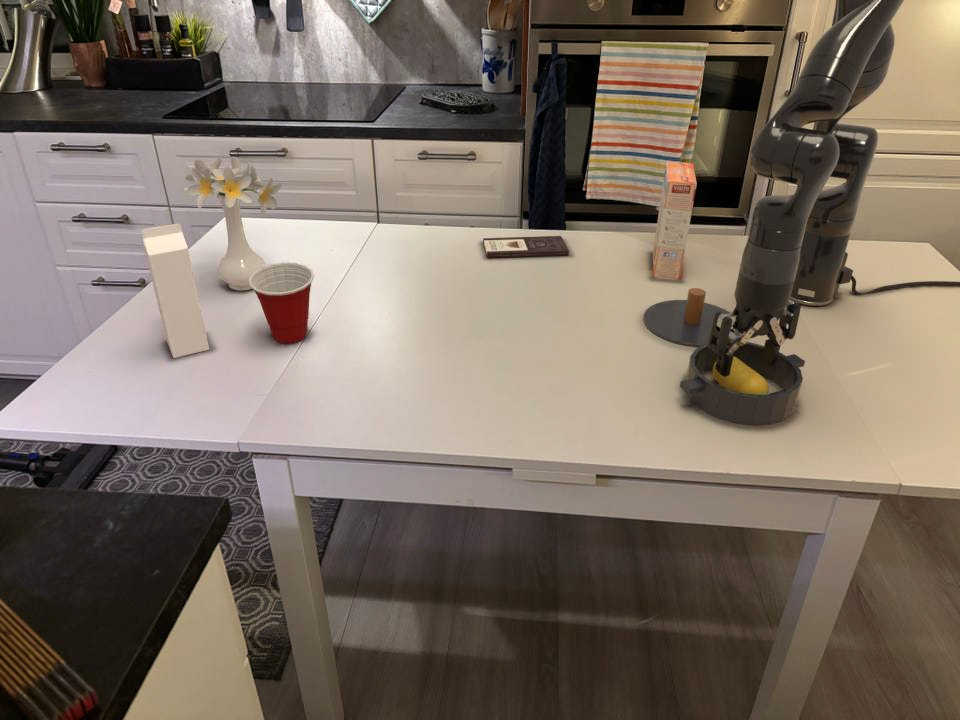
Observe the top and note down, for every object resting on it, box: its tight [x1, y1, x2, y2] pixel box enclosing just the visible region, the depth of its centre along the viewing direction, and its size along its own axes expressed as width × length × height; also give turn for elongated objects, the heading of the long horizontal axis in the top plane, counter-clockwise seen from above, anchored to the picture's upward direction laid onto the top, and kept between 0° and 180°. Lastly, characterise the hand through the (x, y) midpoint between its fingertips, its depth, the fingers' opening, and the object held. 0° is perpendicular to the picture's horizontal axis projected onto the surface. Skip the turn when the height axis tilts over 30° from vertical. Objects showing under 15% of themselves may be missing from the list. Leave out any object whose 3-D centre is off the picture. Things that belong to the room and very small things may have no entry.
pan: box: [679, 340, 806, 426], centre depth 115 cm, size 16×22×6 cm
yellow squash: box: [712, 357, 770, 395], centre depth 114 cm, size 11×5×5 cm, turn 22°
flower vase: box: [185, 156, 283, 292], centre depth 143 cm, size 13×18×25 cm
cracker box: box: [652, 161, 698, 280], centre depth 153 cm, size 14×6×21 cm, turn 168°
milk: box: [140, 223, 210, 359], centre depth 122 cm, size 6×6×22 cm
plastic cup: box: [249, 261, 315, 345], centre depth 128 cm, size 11×11×12 cm
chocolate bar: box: [482, 235, 570, 259], centre depth 166 cm, size 9×1×18 cm
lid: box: [643, 287, 742, 348], centre depth 134 cm, size 17×17×7 cm
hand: (745, 368), depth 113 cm, fingers open, 8 cm apart
